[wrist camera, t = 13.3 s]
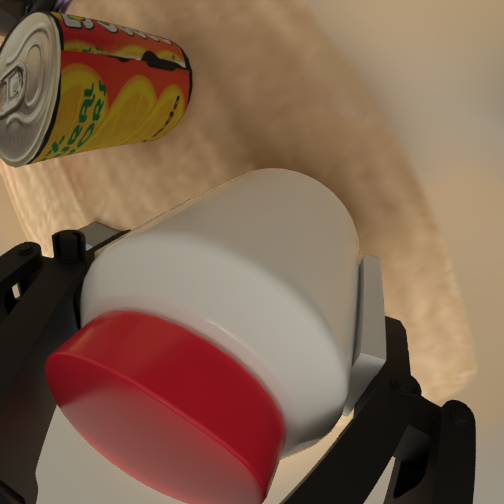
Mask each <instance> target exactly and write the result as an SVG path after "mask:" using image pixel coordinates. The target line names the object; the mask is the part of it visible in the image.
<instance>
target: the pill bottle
mask: <svg viewBox="0 0 504 504" xmlns="http://www.w3.org/2000/svg"><path fill="white" fill-rule="evenodd" d="M359 256H360V251H359V242H358V234H357V231H356V228H355V225H354V222H353V220H352V218H351V216H350V214H349V212H348V211H347V209H346V207H345V206H344V204H343V203H342V202H341V201H340V200H339V198H338V197H337V196H336V195H335V194H334V193H333V192H332V191H331V190H330V189H328V188H327V187H326V186H324V185H323V184H322V183H320V182H319V181H317V180H316V179H313V178H311V177H309V176H307V175H305V174H303V173H300V172H296V171H292V170H288V169H283V168H264V169H258V170H253V171H249V172H246V173H244V174H242V175H239V176H237V177H235V178H233V179H231V180H229V181H227V182H225V183H223V184H221V185H219V186H217V187H215V188H213V189H211V190H209V191H207V192H205V193H203V194H201V195H199V196H197V197H195V198H193V199H191V200H189V201H187V202H185V203H184V204H182V205H180V206H178V207H176V208H174V209H172V210H170V211H169V212H167V213H165V214H163V215H161V216H159V217H158V218H156V219H154V220H152V221H150V222H149V223H147V224H145V225H143V226H141V227H140V228H138V229H136V230H134V231H133V232H131V233H129V234H127V235H126V236H124V237H122V238H120V239H119V240H117V241H115V242H114V243H112V244H111V245H109V246H108V247H107V248H106V249H105V250H104V251H103V252H102V253H101V254H100V255H99V256H98V257H97V258H96V259H95V260H94V261H93V263H92V264H91V266H90V268H89V270H88V272H87V274H86V276H85V278H84V282H83V287H82V292H81V297H80V317H81V329H80V330H79V331H78V332H76V333H75V334H74V335H73V336H72V337H70V338H69V339H68V340H67V341H66V342H65V343H63V344H62V345H61V346H60V347H59V348H58V349H56V350H55V351H54V352H53V353H52V354H51V355H49V356H48V358H47V361H46V363H45V377H46V380H47V383H48V386H49V389H50V391H51V394H52V396H53V398H54V400H55V402H56V403H57V405H58V406H59V408H60V409H61V411H62V412H63V414H64V415H65V417H66V418H67V419H68V420H69V422H70V423H71V424H72V425H73V427H74V428H75V429H76V430H77V431H78V432H79V433H80V434H81V436H82V437H83V438H84V439H85V440H86V441H87V442H88V443H90V445H92V446H93V447H94V448H95V449H96V450H97V451H98V452H99V453H100V454H102V455H103V456H104V457H105V458H106V459H108V460H109V461H110V462H111V463H113V464H114V465H115V466H117V467H118V468H120V469H121V470H122V471H124V472H125V473H127V474H128V475H130V476H131V477H133V478H135V479H136V480H138V481H140V482H141V483H143V484H145V485H147V486H149V487H151V488H153V489H155V490H157V491H158V492H161V493H163V494H165V495H167V496H170V497H172V498H174V499H177V500H180V501H182V502H186V503H188V504H262V502H263V501H264V500H265V499H266V497H267V495H268V492H269V489H270V487H271V484H272V481H273V479H274V476H275V473H276V470H277V467H278V464H279V461H280V460H281V459H284V458H286V457H289V456H292V455H294V454H297V453H299V452H301V451H303V450H306V449H308V448H310V447H312V446H314V445H315V444H317V443H318V442H319V441H320V440H322V439H323V438H324V437H325V436H327V435H328V434H329V433H330V432H331V431H332V429H333V428H334V426H335V425H336V423H337V422H338V420H339V419H340V417H341V415H342V413H343V411H344V407H345V403H346V400H347V396H348V392H349V386H350V378H351V370H352V361H353V352H354V342H355V330H356V318H357V303H358V284H359Z"/></svg>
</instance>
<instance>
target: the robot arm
mask: <svg viewBox="0 0 504 504" xmlns="http://www.w3.org/2000/svg"><path fill="white" fill-rule="evenodd" d="M55 1H56V0H0V35H1V36H3V37H6V36H7V34H8V33H9V32H10V30H11V29H12V28H13V27H14V25H15V24H16V23H17V22H18V21H19V20H20V19H21V18H22V17H24V16H25V15H26V14H28V13H30V12H33V11H35V10H40V11H49V10H50V9H51V7H52V6H53V4H54V3H55ZM189 200H191V199H189ZM189 200H187V201H189ZM187 201H185V202H187ZM185 202H183V203H181V204H179V205H177V206H176V207H178V206H180V205H182V204H184V203H185ZM176 207H174V208H176ZM174 208H172V209H174ZM172 209H170V210H172ZM170 210H168V211H166V212H164V213H162V214H161V215H163V214H165V213H167V212H169V211H170ZM161 215H159V216H161ZM159 216H157V217H155V218H153V219H151V220H149V221H148V222H146V223H144V224H142V225H140V226H139V227H137V228H135V229H133V230H126V231H122V232H119V233H117V234H115V235H113V236H111V237H110V238H108V239H106V240H104V242H101V243H99V244H97V245H96V246H94V247H92V248H90V249H89V250H87V251H86V238H85V235H84V233H82V232H81V231H78V230H63V231H60V232H57V233H55V234H54V235H52V242H53V251H54V257H53V258H49V257H45V256H42V251H41V247H40V245H39V244H37V243H34V242H24V243H22V244H19V245H17V246H15V247H14V248H12V249H11V250H9V251H8V252H6V253H5V254H3V255H2V256H0V504H36V501H37V495H38V485H37V481H36V477H35V472H36V467H37V463H38V460H39V456H40V453H41V450H42V446H43V443H44V440H45V437H46V434H47V431H48V428H49V425H50V422H51V419H52V416H53V413H54V411H55V408H56V405H57V403H56V402H55V400H54V398H53V396H52V394H51V391H50V389H49V386H48V383H47V380H46V377H45V363H46V361H47V358H48V356H49V355H51V354H52V353H53V352H54V351H55V350H56V349H58V348H59V347H60V346H61V345H62V344H63V343H65V342H66V341H67V340H68V339H69V338H70V337H72V336H73V335H74V334H75V333H76V332H78V331H79V330H80V329H81V317H80V297H81V292H82V287H83V282H84V278H85V276H86V274H87V272H88V270H89V268H90V266H91V264H92V263H93V261H94V260H95V259H96V258H97V257H98V256H99V255H100V254H101V253H102V252H103V251H104V250H105V249H106V248H107V247H108V246H109V245H111V244H112V243H114V242H115V241H117V240H119V239H120V238H122V237H124V236H126V235H127V234H129V233H131V232H133V231H134V230H136V229H138V228H140V227H141V226H143V225H145V224H147V223H149V222H150V221H152V220H154V219H156V218H158V217H159ZM15 284H17V286H18V290H19V293H20V296H19V297H17V298H15V297H14V294H13V291H12V287H13V286H14V285H15ZM421 392H422V391H421V388H420V385H419V383H418V382H417V380H416V379H415V378H414V377H413V376H411V372H410V361H409V352H408V343H407V335H406V330H405V328H404V326H403V325H402V323H401V321H400V320H396V319H393V318H390V317H387V316H385V313H384V298H383V286H382V275H381V266H380V259H379V258H377V257H374V256H371V255H368V254H365V253H364V255H363V258H362V260H361V263H360V265H359V284H358V303H357V318H356V330H355V342H354V352H353V361H352V370H351V378H350V386H349V392H348V396H347V400H346V403H345V407H344V411H343V413H342V415H344V416H348V415H349V414H350V412H351V411H352V410H353V408H354V415H353V419H352V420H351V421H350V422H349V424H348V425H347V426H346V427H345V429H344V430H343V431H342V432H341V434H340V435H339V437H338V438H337V440H336V441H335V442H334V443H333V444H332V446H331V447H330V448H329V449H328V450H327V452H326V453H325V454H324V455H323V457H322V458H321V459H320V460H319V461H318V462H317V464H316V465H315V466H314V467H313V468H312V469H311V471H310V472H309V473H308V474H307V475H306V476H305V477H304V478H303V480H302V481H301V482H300V483H299V484H298V485H297V486H296V487H295V488H294V489H293V490H292V491H291V492H290V493H289V494H288V495H287V496H286V497H285V499H284V500H283V501H282V502H281V503H280V504H363V503H364V502H365V500H366V499H367V497H368V496H369V494H370V492H371V491H372V489H373V488H374V486H375V485H376V483H377V481H378V480H379V478H380V476H381V475H382V473H383V471H384V470H385V468H386V466H387V464H388V463H389V461H390V459H391V457H392V456H393V457H395V463H394V467H393V471H392V475H391V479H390V483H389V486H388V490H387V493H386V496H385V500H384V503H383V504H473V493H474V481H475V461H476V460H475V459H476V427H475V418H474V415H473V413H472V411H471V409H470V408H469V407H467V405H466V404H464V403H462V402H460V401H458V400H450V401H447V402H446V403H445V404H444V405H443V406H442V407H440V406H438V405H436V404H434V403H432V402H430V401H429V400H427V399H425V398H424V397H422V396H421Z"/></svg>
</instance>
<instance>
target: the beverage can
mask: <svg viewBox="0 0 504 504" xmlns="http://www.w3.org/2000/svg"><path fill="white" fill-rule="evenodd" d="M191 91H192V70H191V67H190V63H189V60H188V58H187V56H186V55H185V53H184V52H183V50H182V49H181V48H180V47H179V46H178V45H176V44H175V43H174V42H172V41H170V40H167V39H164V38H161V37H158V36H154V35H151V34H148V33H145V32H141V31H138V30H134V29H131V28H127V27H123V26H119V25H115V24H111V23H107V22H103V21H98V20H94V19H89V18H84V17H79V16H74V15H68V14H62V13H56V12H49V11H40V10H35V11H33V12H30V13H28V14H26V15H25V16H24V17H22V18H21V19H20V20H19V21H18V22H17V23H16V24H15V25H14V27H13V28H12V29H11V30H10V32H9V33H8V34H7V36H6V38H5V40H4V42H3V44H2V46H1V47H0V158H1V159H2V160H3V161H4V162H5V163H6V164H7V165H10V166H13V167H15V168H16V167H20V166H24V165H28V164H32V163H36V162H40V161H44V160H48V159H52V158H57V157H61V156H66V155H70V154H75V153H80V152H85V151H90V150H95V149H101V148H106V147H112V146H118V145H125V144H131V143H138V142H145V141H153V140H155V139H157V138H159V137H162V136H164V135H165V134H166V133H168V132H169V131H170V130H171V129H172V128H174V127H175V125H176V124H177V123H178V121H179V120H180V119H181V117H182V116H183V114H184V112H185V110H186V108H187V105H188V103H189V101H190V96H191Z"/></svg>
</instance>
